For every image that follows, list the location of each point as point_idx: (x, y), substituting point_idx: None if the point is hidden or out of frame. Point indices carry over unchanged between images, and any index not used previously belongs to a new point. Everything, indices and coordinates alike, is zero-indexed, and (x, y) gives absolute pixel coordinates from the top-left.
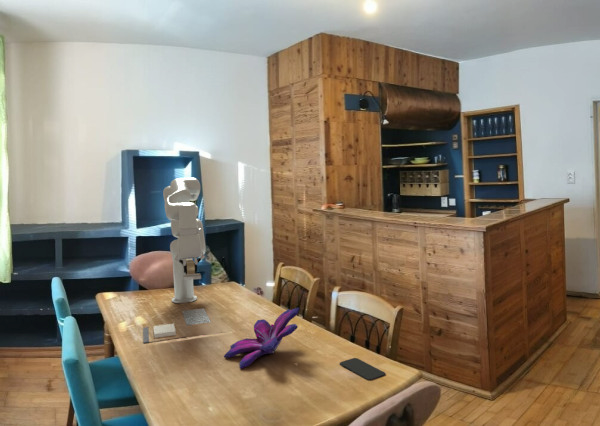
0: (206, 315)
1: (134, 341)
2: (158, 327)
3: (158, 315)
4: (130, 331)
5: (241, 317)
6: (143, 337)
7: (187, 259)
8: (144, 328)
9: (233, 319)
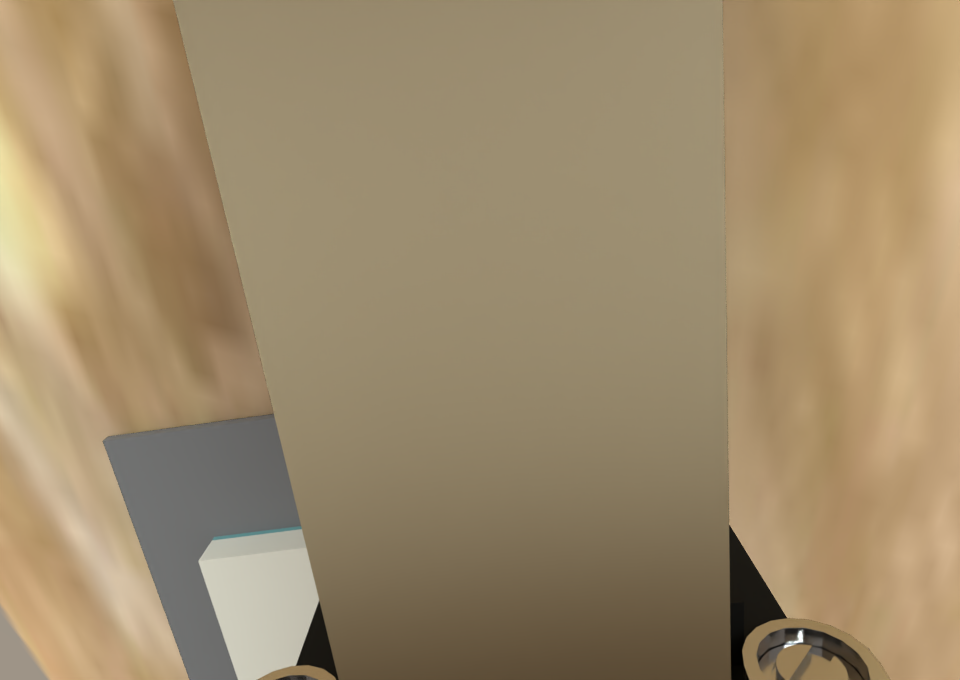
0: None
1: (133, 663)
2: (247, 599)
3: (126, 51)
4: (21, 466)
5: (936, 364)
6: (176, 642)
7: (365, 247)
8: (119, 462)
9: (854, 399)
